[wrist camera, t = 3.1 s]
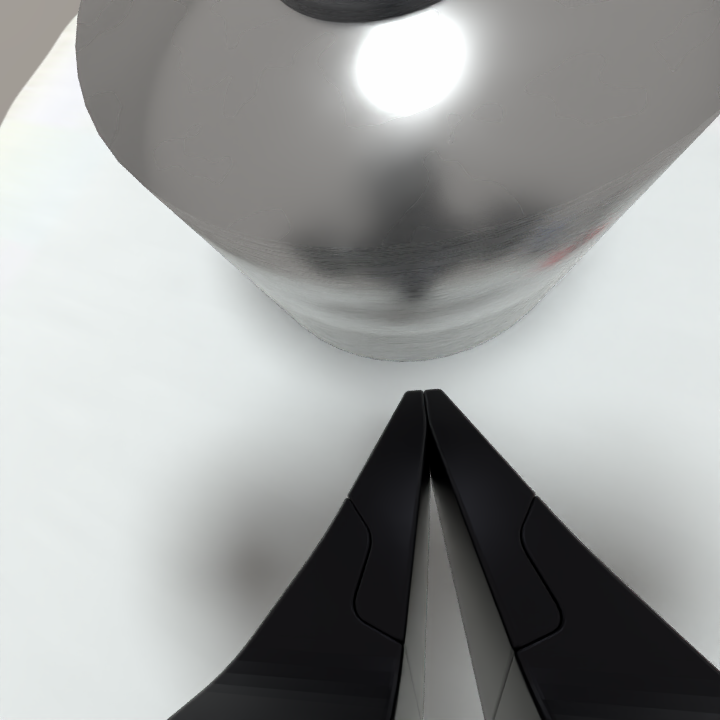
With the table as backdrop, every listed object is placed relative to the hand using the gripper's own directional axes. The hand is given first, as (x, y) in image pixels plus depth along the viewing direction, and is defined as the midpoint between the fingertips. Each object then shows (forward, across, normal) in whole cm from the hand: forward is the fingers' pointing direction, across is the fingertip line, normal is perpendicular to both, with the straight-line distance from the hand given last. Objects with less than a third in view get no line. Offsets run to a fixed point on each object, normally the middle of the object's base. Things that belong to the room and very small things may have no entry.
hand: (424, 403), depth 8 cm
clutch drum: (+12, 0, -2) cm, 12 cm away
